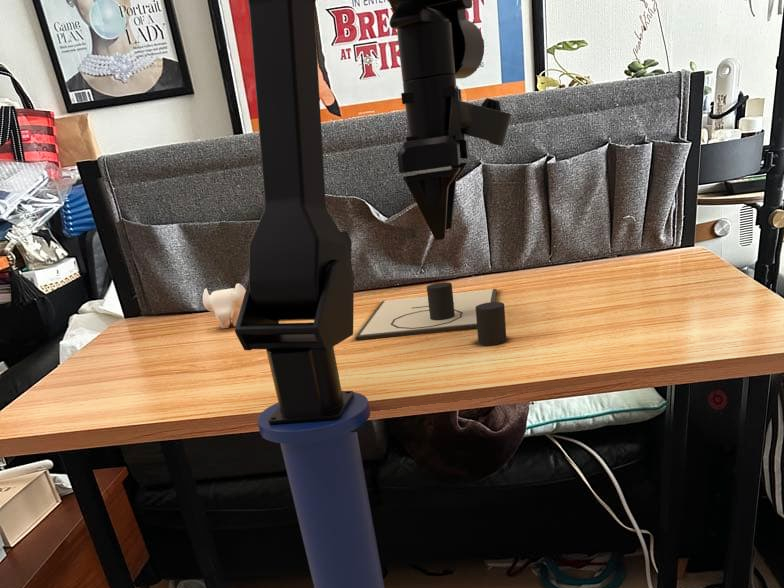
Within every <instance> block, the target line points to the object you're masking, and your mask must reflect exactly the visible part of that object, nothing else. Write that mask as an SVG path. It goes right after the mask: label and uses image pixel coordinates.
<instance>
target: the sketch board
mask: <svg viewBox="0 0 784 588" xmlns="http://www.w3.org/2000/svg"><path fill="white" fill-rule="evenodd" d="M497 292H498V289H497V288H490V289H480V290H470V291H462V292H453V302H454V312H455V316H454V317H452V318H449V319H445V320H431V319H430V312H429V303H428V295H425V296H415V297H406V298H397V299H388V300H382V301H381V302H380V304H379V305H378V306H377V308H376V309H375V310H374V311H373V313H372V314H371V316H370V317H369V318H368V320H367V321H366V322H365V323H364V324H363V326H362V328H361V329H360V330H359V331H358V333H357V334H356V335H355V341H361V340H371V339H381V338H391V337H402V336H413V335H421V334H431V333H434V334H435V333H440V332H441V333H443V332H452V331H461V330H462V331H463V330H473V329H477V320H476V306H478V305H480V304H484V303H489V302H496V298H497Z"/></svg>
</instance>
